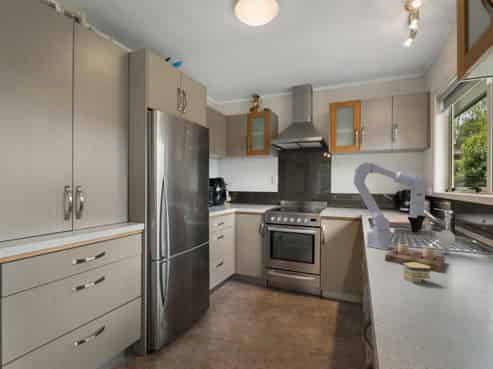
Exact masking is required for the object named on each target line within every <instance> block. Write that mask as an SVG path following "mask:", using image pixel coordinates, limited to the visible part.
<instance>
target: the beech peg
mask: <svg viewBox="0 0 493 369" xmlns="http://www.w3.org/2000/svg"><path fill="white" fill-rule="evenodd" d="M397 248H398V254H401V255H406V256H407V255H408V250H409V248H408V245H407V244H404V243H403V244H401V243H400V244H397Z"/></svg>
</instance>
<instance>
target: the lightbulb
mask: <svg viewBox="0 0 493 369" xmlns="http://www.w3.org/2000/svg"><path fill="white" fill-rule="evenodd" d="M437 239H438V241H439V242H440V245H441V252H442V253H443V254H444V255H448V254H450V249H451V246H452V244H454V242H455V240H456V235H455V233H454V232H452V231H451V230H448V229H447V230H444V229H443V230H440V231H439V232H438V234H437Z"/></svg>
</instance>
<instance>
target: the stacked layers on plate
mask: <svg viewBox="0 0 493 369" xmlns="http://www.w3.org/2000/svg"><path fill="white" fill-rule="evenodd" d="M403 264H405V265H404V266H402V269H403V272H402V273H401V274H402V275H403V279H404V280H405V281H407V282H409V281H410V282H409V283H411V282H415V283H422V280H430V279H431V277H430V273H431V272H432V271H431V270H428V269H427V268H430V266H427V265H424V264H420V263H416V262H409V263H403ZM424 268H425V269H424Z"/></svg>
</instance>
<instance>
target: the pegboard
mask: <svg viewBox="0 0 493 369" xmlns="http://www.w3.org/2000/svg"><path fill="white" fill-rule="evenodd" d="M445 260H446V259H445V256H443V255H438V254H434V261H432V260H427V259H423V252H420V251H415V250H409V249H408V255H407V256H406V255H401V254H398V247H394V248H393V249H391V250H390V251H388V253H386V254H385V255H384V261H385V262H387V263H388V262H389V263H392V264H393V263H394V264H398V265H403V266H406V265H405V264H403V263H409V262H416V263H420V264H424V265H427V266H430V268H427V269H428V270H430V272H435V273H441V270H442V268H443V267H444V265H445ZM424 269H425V268H424Z"/></svg>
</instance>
